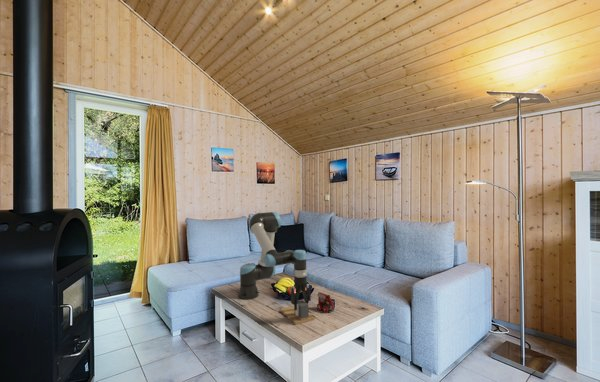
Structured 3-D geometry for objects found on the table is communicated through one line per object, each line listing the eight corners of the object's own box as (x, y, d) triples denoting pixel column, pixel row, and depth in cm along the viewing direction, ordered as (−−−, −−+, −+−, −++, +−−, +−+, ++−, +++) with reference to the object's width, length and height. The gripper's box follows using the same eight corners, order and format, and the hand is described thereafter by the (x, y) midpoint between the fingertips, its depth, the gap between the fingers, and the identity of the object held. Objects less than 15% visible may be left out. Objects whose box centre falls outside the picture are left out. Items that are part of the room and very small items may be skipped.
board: (280, 311, 189) (280, 309, 189) (298, 307, 195) (298, 304, 195) (295, 324, 170) (295, 322, 170) (314, 319, 176) (314, 317, 176)
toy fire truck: (329, 314, 183) (328, 298, 183) (315, 308, 192) (314, 293, 192) (336, 311, 188) (335, 295, 188) (322, 305, 197) (321, 290, 197)
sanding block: (294, 314, 180) (294, 301, 180) (301, 312, 182) (301, 300, 182) (301, 320, 172) (301, 306, 172) (308, 318, 174) (308, 304, 174)
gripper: (289, 279, 170) (290, 319, 170) (316, 275, 178) (317, 313, 178) (284, 276, 176) (285, 314, 176) (310, 272, 185) (311, 308, 185)
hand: (301, 313), depth 177 cm, fingers closed on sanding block, 5 cm apart
